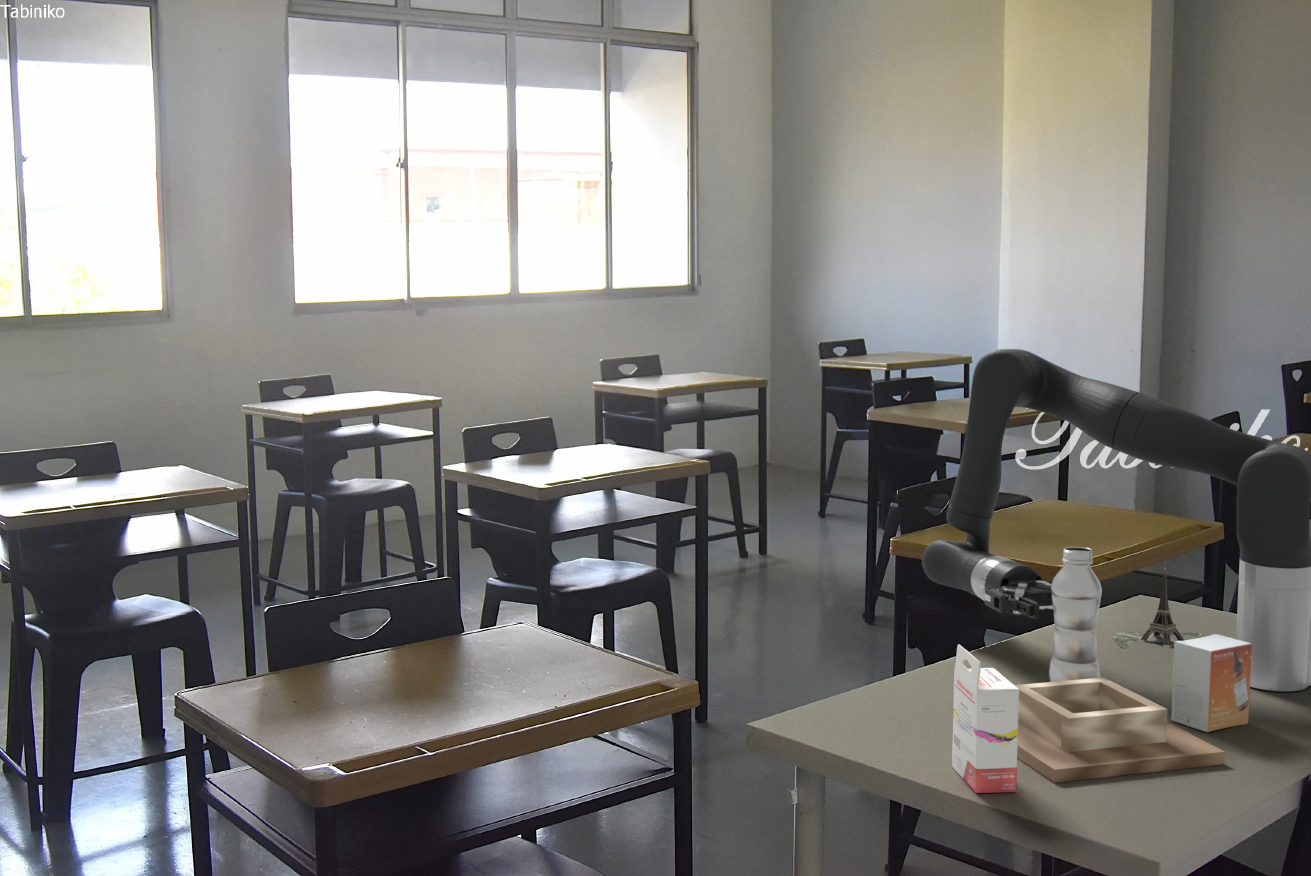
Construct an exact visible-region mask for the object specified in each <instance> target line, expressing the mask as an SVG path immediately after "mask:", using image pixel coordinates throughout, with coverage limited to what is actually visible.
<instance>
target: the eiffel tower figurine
mask: <svg viewBox="0 0 1311 876" xmlns="http://www.w3.org/2000/svg"><path fill="white" fill-rule="evenodd" d="M1166 564H1167V563H1166V561H1165V562H1164V567H1163V569H1162V570H1161V571H1162V579H1161V580H1162V582H1161V590H1160V597H1159V604H1158V608H1157V609H1156V613H1155V616H1154V618H1153V621H1152V622H1150V623H1149V627H1148V629H1147V630H1146V631H1118V632H1114V633H1112V638H1113V639H1112V640H1113V641H1114V642H1115V643H1116V644H1117V645H1119V646H1120V647H1121V648H1125V649H1130V648H1129V646H1130V644H1131V642H1139V643H1142V644H1143V643H1144V644H1147V645H1153V646H1157V647H1162V648H1165V649H1172V648H1174V642H1175V641H1184V640H1185V639H1184V636H1181V635H1191V636H1194V637H1195V636H1196V637H1198V635H1203V634H1202V633H1201V632H1180V631H1179V630H1178V628H1177V625H1176V624H1177V623H1174V622H1173V621H1174V620H1173V619H1172V615H1171V612H1170V611H1171V609H1170V607H1169V599H1168V598H1169V597H1168V596H1169V595H1168V576H1167V575H1168V568H1167V566H1166ZM1171 636H1172V637H1173V636H1175V638H1176V639H1175V638H1171Z"/></svg>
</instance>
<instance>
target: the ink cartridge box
mask: <svg viewBox="0 0 1311 876" xmlns="http://www.w3.org/2000/svg"><path fill="white" fill-rule="evenodd" d="M956 647H957V648H956V656H955V664H954V671H953V676H954V677H953V709H952V710H953V711H952V712H953V716H952V718H953V719H952V748H951V749H952V751H951V754H952V755H951V756H952V757H951V758H952V759H951V766H952V768H953V769H954V770H955V772H956V773H958V775H959V777H961V779H963V780H964V782H965V783H966V784H967V785H968V786H969V787H970V788H971V790H973V791H974V792H975V793H976V794H987V793H988V794H989V793H994V794H995V793H1016V792H1017V786H1018V785H1017V781H1018V758H1017V743H1018V706H1019V689H1018V688H1017V687H1016V686H1015V685H1016V684H1013V683H1012V682H1011V681H1009V679H1007V678H1006V677H1005V676H1004V675H1003V674H1002V673H1000V672H999V671H998V670H997V669H995V667H982V664H981V661H980V660H978V659H977V658H976V656H974V655H973V654H971V653H970V652H969V651H968V650H967V649H965V648H964V647H963V646H962V645H961V644H957V646H956ZM965 662H968V664H969V666H970V668H968V667H967V666H966V665H965Z"/></svg>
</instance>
